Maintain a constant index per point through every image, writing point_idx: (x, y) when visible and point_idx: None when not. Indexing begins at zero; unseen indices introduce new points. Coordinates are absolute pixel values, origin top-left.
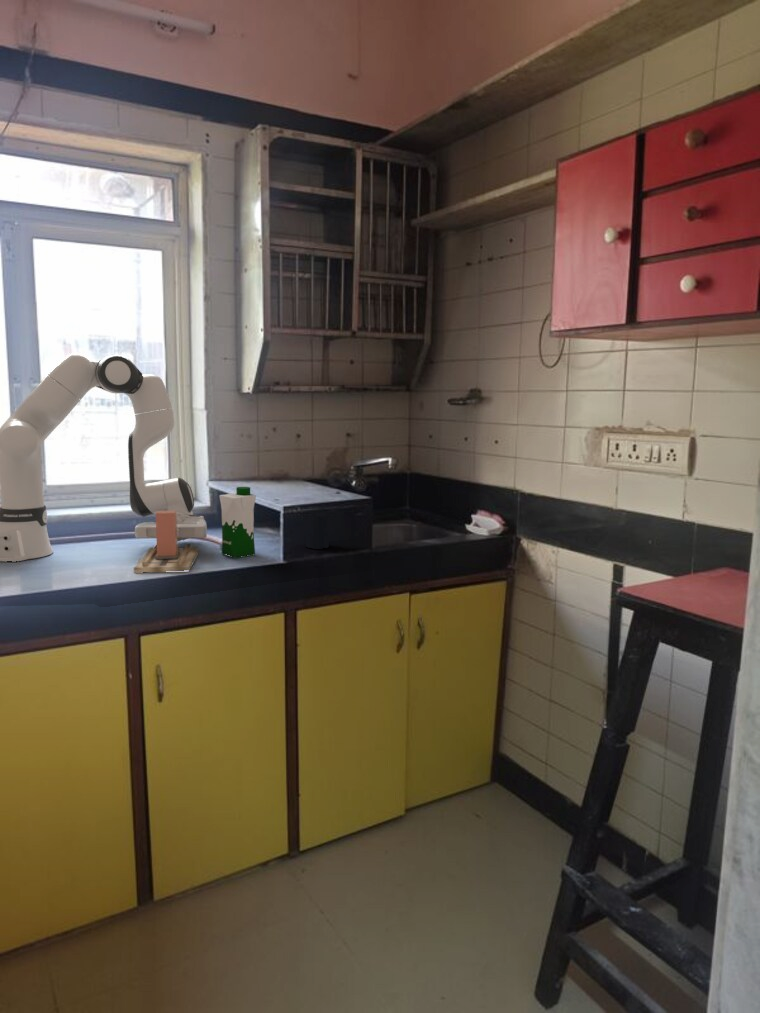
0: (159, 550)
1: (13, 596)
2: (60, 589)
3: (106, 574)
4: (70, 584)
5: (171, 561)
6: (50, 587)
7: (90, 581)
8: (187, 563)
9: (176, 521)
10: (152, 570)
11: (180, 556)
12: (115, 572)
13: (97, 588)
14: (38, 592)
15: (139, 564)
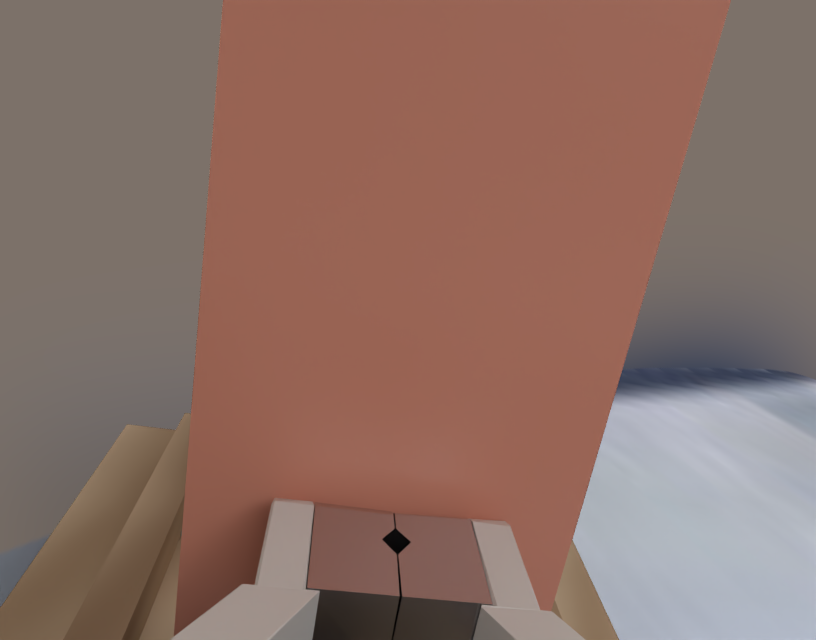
0: None
1: (795, 374)
2: (710, 390)
3: (702, 519)
4: (732, 424)
5: None
6: (776, 412)
7: (679, 438)
8: (108, 491)
9: (216, 197)
10: None
11: (161, 541)
12: (679, 548)
13: None
14: (757, 384)
15: None
